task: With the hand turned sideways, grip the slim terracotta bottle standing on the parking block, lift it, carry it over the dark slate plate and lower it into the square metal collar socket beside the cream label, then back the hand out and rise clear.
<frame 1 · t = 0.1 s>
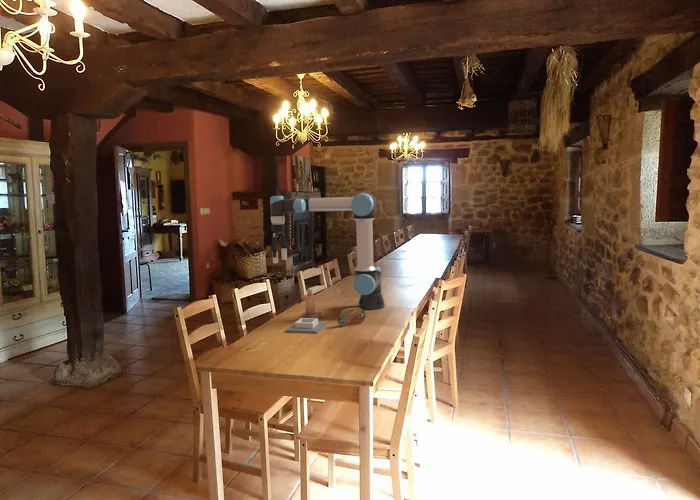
hand: (280, 261, 285), 28 cm above the table, tool pointing down, fingers open, 13 cm apart
bottle: (310, 313, 267), point 2 cm above the table, touching parking block
holder: (306, 327, 250), on the table
parking block: (310, 318, 267), on the table
tin: (351, 325, 253), on the table
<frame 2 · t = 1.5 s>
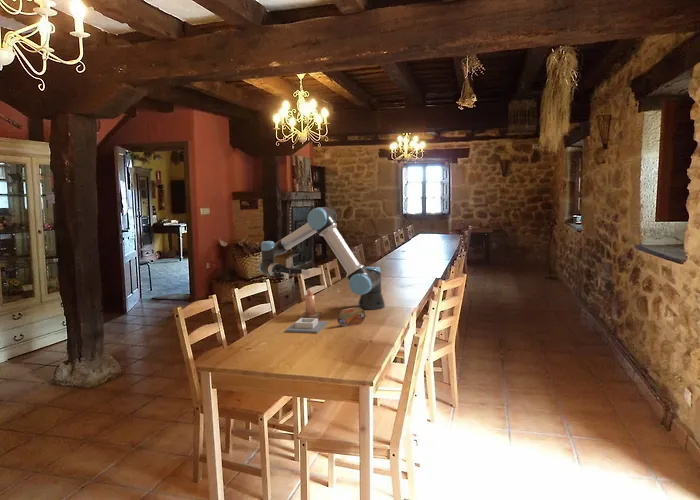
hand: (298, 274, 272), 22 cm above the table, tool horizontal, fingers open, 13 cm apart
nothing on the table moved.
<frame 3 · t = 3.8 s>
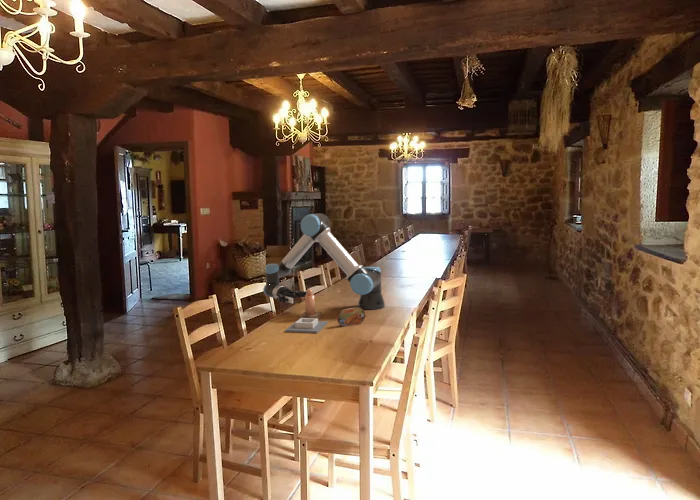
hand: (303, 298, 270), 10 cm above the table, tool horizontal, fingers open, 13 cm apart
nothing on the table moved.
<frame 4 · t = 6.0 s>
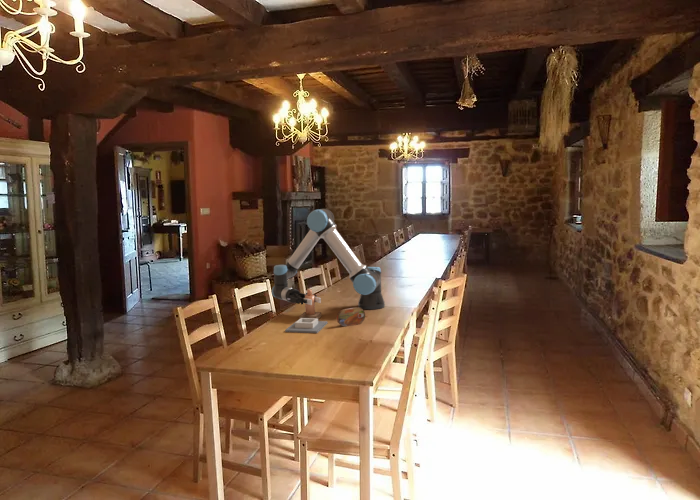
hand: (315, 301, 262), 10 cm above the table, tool horizontal, fingers closed on bottle, 5 cm apart
bottle: (310, 313, 267), point 2 cm above the table, touching gripper, parking block
everything else where it was.
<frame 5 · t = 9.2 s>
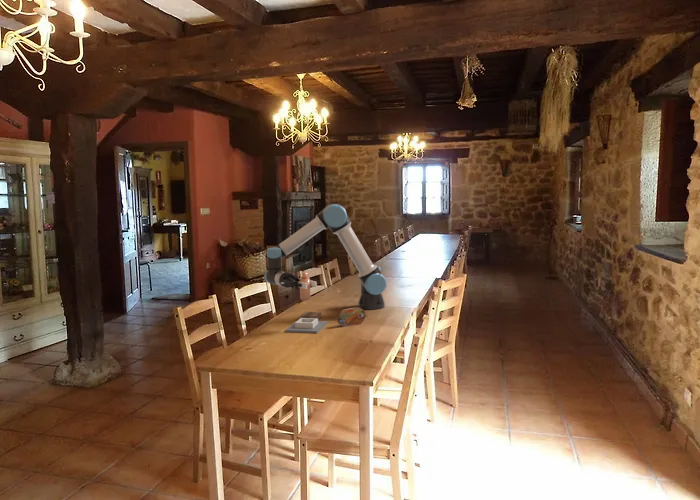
hand: (311, 285, 243), 22 cm above the table, tool horizontal, fingers closed on bottle, 5 cm apart
bottle: (305, 298, 248), point 14 cm above the table, touching gripper
everything else where it was.
when the fingers open (10 cm above the table, at t = 12.2 s): bottle drops 1 cm, resting on holder.
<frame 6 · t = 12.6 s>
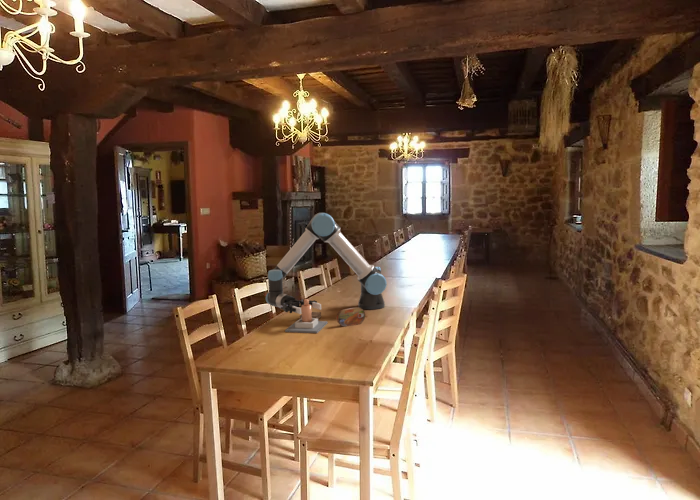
hand: (310, 309, 246), 10 cm above the table, tool horizontal, fingers open, 11 cm apart
bottle: (306, 325, 250), point 1 cm above the table, touching holder
everything else where it was.
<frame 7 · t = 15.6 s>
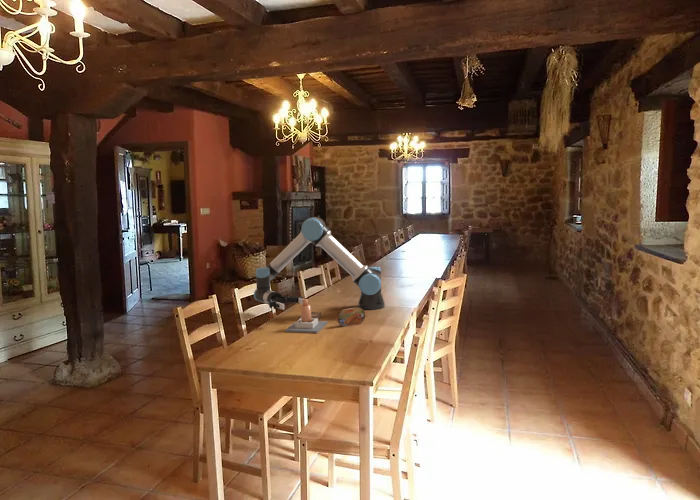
hand: (295, 304, 256), 10 cm above the table, tool horizontal, fingers open, 13 cm apart
nothing on the table moved.
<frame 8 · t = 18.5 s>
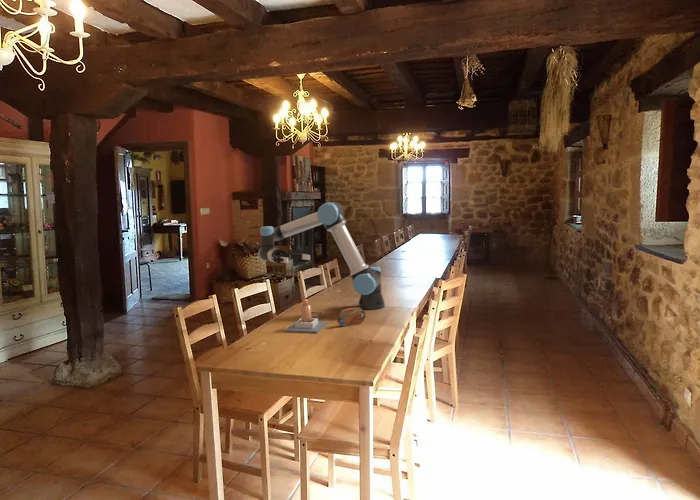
hand: (298, 259, 262), 32 cm above the table, tool horizontal, fingers open, 13 cm apart
nothing on the table moved.
at the end: bottle 0.1 cm off-centre on the holder, point 1.1 cm above the holder's base; bottle tilted 2°; the gripper is holding nothing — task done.
